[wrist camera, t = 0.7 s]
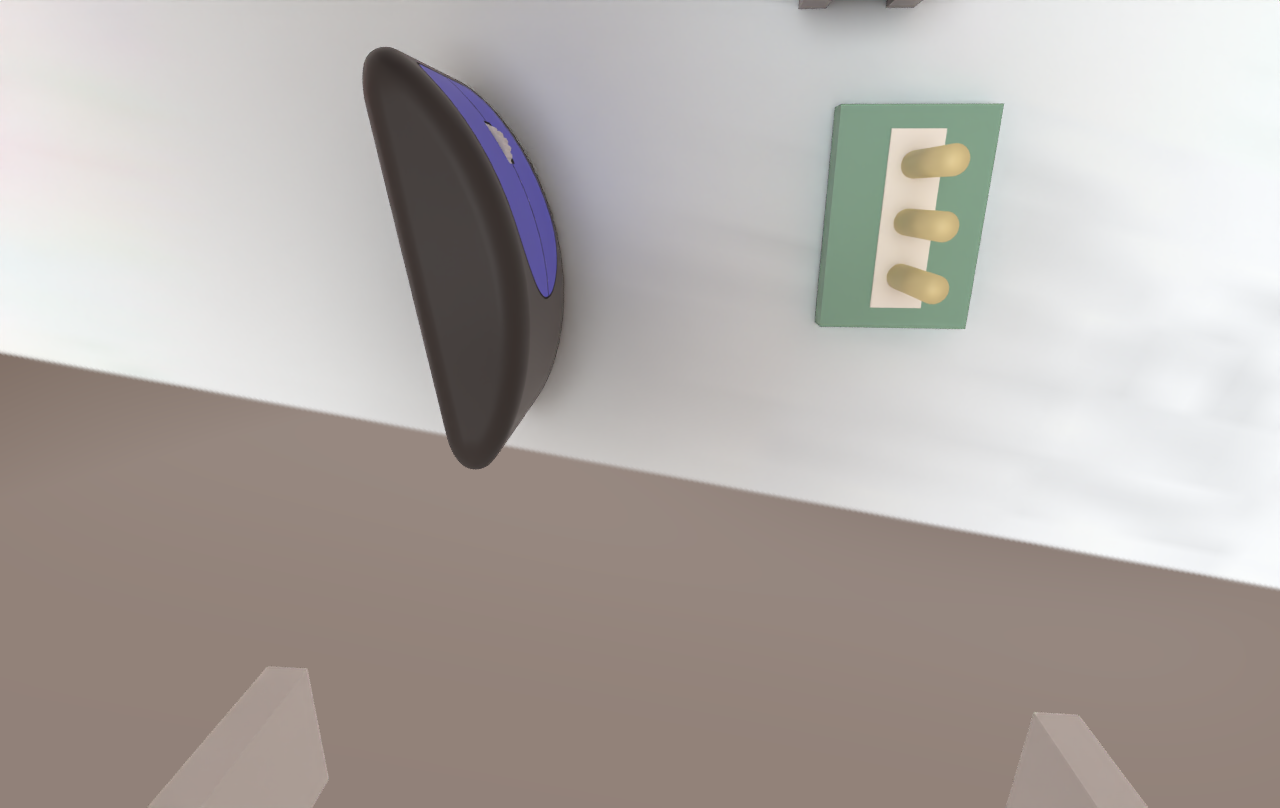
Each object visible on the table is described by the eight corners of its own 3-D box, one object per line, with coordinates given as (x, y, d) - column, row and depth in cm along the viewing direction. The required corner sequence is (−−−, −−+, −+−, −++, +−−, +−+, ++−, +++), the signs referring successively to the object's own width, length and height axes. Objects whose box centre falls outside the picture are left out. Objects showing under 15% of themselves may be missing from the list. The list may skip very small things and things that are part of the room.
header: (835, 107, 29) (869, 88, 24) (991, 107, 29) (1061, 88, 23) (814, 321, 32) (841, 347, 27) (954, 324, 32) (1009, 350, 26)
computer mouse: (588, 400, 34) (556, 473, 25) (507, 408, 35) (447, 483, 26) (533, 72, 29) (470, 19, 20) (439, 87, 30) (337, 43, 21)
